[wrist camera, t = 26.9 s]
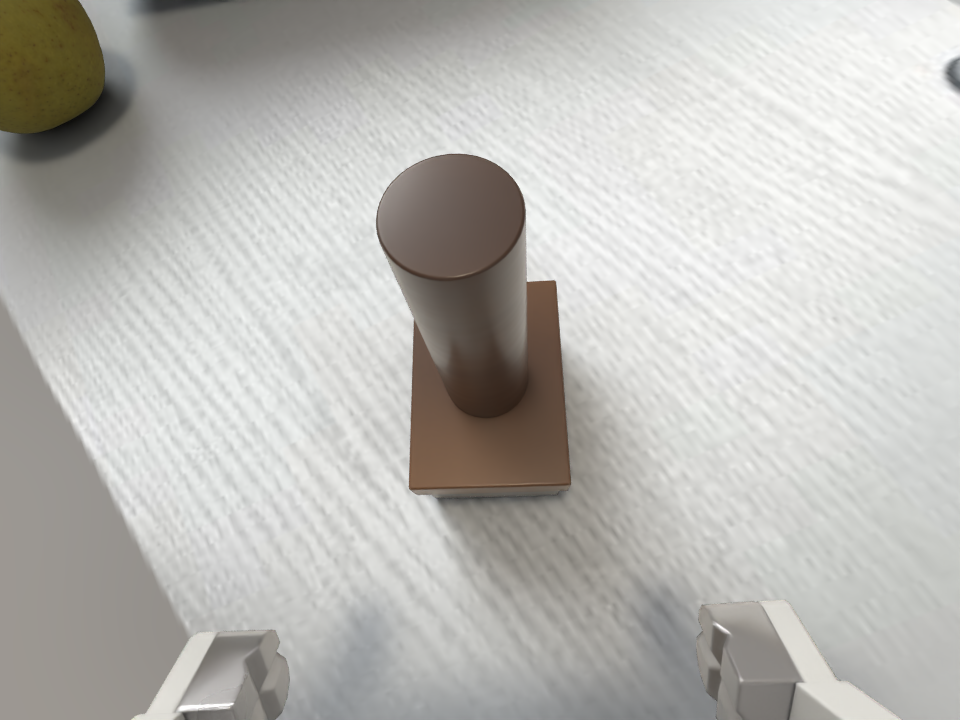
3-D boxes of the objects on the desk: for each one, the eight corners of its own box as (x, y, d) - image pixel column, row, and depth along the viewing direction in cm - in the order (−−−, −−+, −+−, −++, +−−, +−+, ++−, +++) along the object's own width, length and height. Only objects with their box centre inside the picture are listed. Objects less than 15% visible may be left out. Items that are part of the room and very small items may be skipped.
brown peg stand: (564, 501, 20) (611, 397, 8) (429, 504, 20) (292, 409, 8) (552, 325, 22) (575, 55, 11) (432, 331, 22) (329, 76, 11)
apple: (-26, 95, 30) (-186, -43, 23) (114, 30, 31) (-2, -121, 24) (4, 191, 27) (-167, 66, 20) (156, 116, 28) (39, -26, 21)
